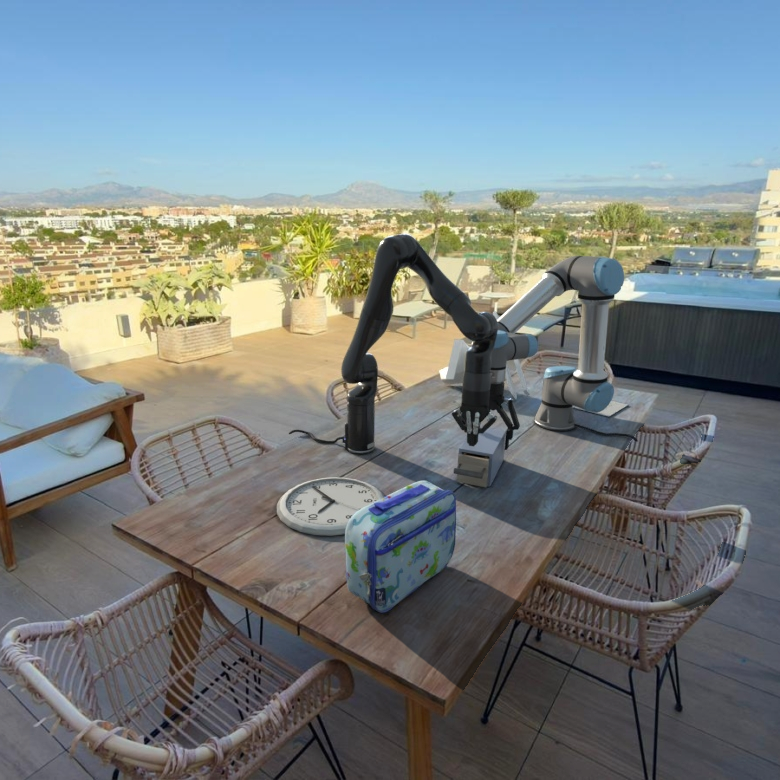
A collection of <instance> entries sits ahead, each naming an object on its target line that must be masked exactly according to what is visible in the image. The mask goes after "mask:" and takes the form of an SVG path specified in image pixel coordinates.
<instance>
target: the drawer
mask: <svg viewBox="0 0 780 780" xmlns="http://www.w3.org/2000/svg"><path fill="white" fill-rule="evenodd" d="M488 468H489V457H488V456H483V455H477V454H472V453H466V452H464V453H463V454H459V453H458V455H457V466H456V467H454V468H453V474H454V475H456V482H457V483H462V484H467V485H471V486H476V487H481V488H487V487H488V486H487V481H488Z"/></svg>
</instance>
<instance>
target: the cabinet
mask: <svg viewBox="0 0 780 780" xmlns="http://www.w3.org/2000/svg"><path fill="white" fill-rule="evenodd" d="M473 430H474V429H473ZM505 439H506V429H499V428H492V427H489V428H488V429H487V430H486V431H485V432H484V433H483V434H481V433H479V435H478V442H477V444H476V445H475V446H469V444H468V443H467V437H466V438H465V439H464V441H463V442H462V444H461V445H460V447H458V455H459V454H463V453H464V452H466V453H472V454H477V455H483V456H488V457H489V468H488V481H487V487H491V486H492V484H493V482H494V480H495V477H496V476H497V474H498V472H499V470H500V468H501V466H502V464H503V462H504V458H505Z"/></svg>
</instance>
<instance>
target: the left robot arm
mask: <svg viewBox="0 0 780 780" xmlns="http://www.w3.org/2000/svg"><path fill="white" fill-rule="evenodd" d="M406 268H408V269H409V270H411V271H412V272H414V273H415V274H416V275H418V276H419V278H420V279H421V280H422V282H424V285H425V287H426V289H427V291H428V295H429V296H430V297H431V299H432V301H434V303H435V304H436V305H437V306H438V307H439V308H441V309H442V311H443V312H444V313H446V315H448V316H449V317H450V318H451V320H452V322H453V323H454V325H455V326H456V327H457V329H458V330H459V332H460V333H461V334H462V336H464V337H465V338H467V339H468V340H470V341H471V345H470V346H469V347H470V348H469V349H468V350H467V352H466V355H465V368H464V369H465V370H464V375H463V383H462V387H461V403H460V405H459V407H458V409H454V410H453V411H452V412H451V417H453V419H454V420H455V422H456V424H457V425H458V427H459V428H460V430H461V431H466V432H467V433H466V432H465V433H466V438H467V443H468V444H469V446H475V445H476V444H477V442H478V435H479V433H481V434H483V433H484V432H485V431H486V430H487V429H488V428H491V426H493V425H494V424H495V423H496V421H497V420H498V416H497V415H494V414H493V413H492V412H491V410H490V408H489V399H490V387H491V360H492V352H493V349H494V346H495V342H496V338H497V333H498V323H497V320H496V318H495V316H494V315H493V313H491V312H489V311H481V312H477V311H476V310H475V309H474V308H473V307H472V306H471V305H472V301H471V298H470V297H469V296H468V295H467V294H466V293H465V292H464V291H463V290H461V289H460V288H459V287H458V286H457V285H456V284H455V283H454V282H452V280H450V279H449V277H447V275H445V273H444V272H443V271H442V270H441V269H440V268H439V266H438V265H437V264H436V263H435V262H434V260H433V259H432V257H430V255H429V254H428V253H427V252H426V250H425V249H424V247H423V246H422V245H421V243H420V242H419V241H418V240H417V239H416V238H415V237H414V236H413V235H411V234H408V233H399V234H395V235H390V236H385V238H383V239H382V240H380V242H379V244H378V246H377V249H376V253H375V259H374V263H373V268H372V274H371V277H370V282H369V286H368V288H367V291H366V295H365V299H364V302H363V304H362V307H361V309H360V313H359V317H358V321H357V324H356V327H355V330H354V334H353V335H352V339H351V341H350V343H349V345H348V348H347V350H346V353H345V354H344V356H343V359H342V363H341V367H340V368H341V369H340V370H341V371H340V373H341V378H342V380H343V381H344V382H345V383H347V384H348V385H355V384H357V385H355V386H354V388H352V389H351V390H350V391H348V392H347V394H346V422H345V423H344V435H343V436H338V437H336V438H335V439H334V440H325V439H321V438H317V437H315V436H314V434H313V433H311V432H309V431H306V430H303V429H293V430H291V431H289V432H288V435H291V434H293V433H301V434H305V435H308V436H310V438H312V440H314V441H316V442H317V443H318V442H319V443H321V444H322V443H323V444H335V443H337V442H338V441H339V440H340V441H342V444H344V451H348V452H349V453H351V454H355V455H366V454H370V453H373V452H374V451H375V449H376V448H375V443H376V441H375V422H376V421H375V418H376V417H375V415H376V413H375V412H376V410H375V408H376V406H375V405H376V404H375V401H376V396H377V391H378V380H379V379H378V377H379V367H378V361H377V359H376V357H375V355H373V354H372V353H369V351H370V349H371V348H372V347H373V346H374V345H375V344H376V343H377V342H378V341H379V340H380V339H381V338H382V337H383V335H384V334H385V333H386V332H387V330H388V327H389V326H390V322H391V319H392V317H393V314H394V307H395V306H394V300H393V295H392V294H393V293H392V290H393V285H394V283H395V280H396V277H397V276H398V273H399V271H400V270H403V269H406ZM462 414H463V416H464V418H465V419H466V420H467V424H466V422H465V421H464V419H463V418H462V416H461V415H462ZM486 418H487V420H486V421H487V422H486V423H485V424H484V425H482V426H481V424H482V422H483V421H484V420H485V419H486ZM473 429H474V430H473Z"/></svg>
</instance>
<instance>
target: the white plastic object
mask: <svg viewBox="0 0 780 780" xmlns="http://www.w3.org/2000/svg"><path fill="white" fill-rule="evenodd" d="M492 314H493V315H494V316H495V318H496V320H497V319H498V318H500V315H499V314H498V312H497V311H496V310H495V311H492ZM470 347H471V346H469V345H468V343H466V342H465V340H464V339H463V338H460V339H458V338H454V340H453V344H452V349H451V353H450V357H449V362H448V366H446V367H444V368H442V369H440V370H439V371H438V372H439V376H440V381H442V383H443V384H444V385H445V386H449V385H458V384H463V375H464V370H465V369H464V368H465V355H466V352H467V350H468V349H469V348H470ZM513 363H514V366H515V369H516V372H517V376H518V380H519V382H520V385H521V389H522V391H523V393H524V395H525V396H526V397H528V396H531V395H530V390H529V388H528V387H529V386H528V384H527V381H526V378H525V375H524V371H523V369H522V368H523V367H522V366H521V362H520V359H516V360H513ZM505 381H506V383H507V386H508V390H509V393H510V394H511V395H512V397H513V398H514V399H515V400H517V392H516V391H517V390H516V388H515V385H514V381H513V378H512V375H511V371H510V369H509V365H508V361H507V362H506V373H505Z"/></svg>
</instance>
